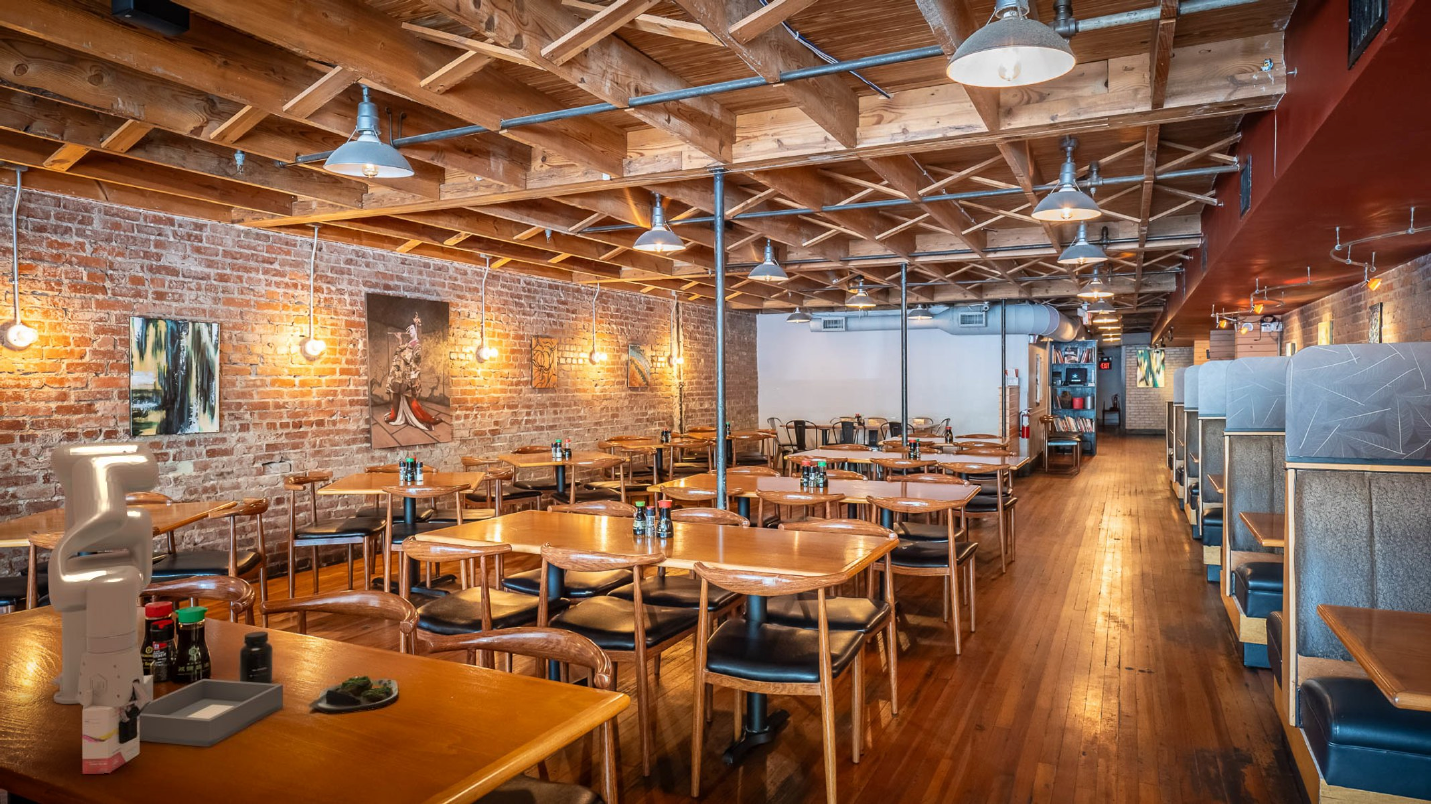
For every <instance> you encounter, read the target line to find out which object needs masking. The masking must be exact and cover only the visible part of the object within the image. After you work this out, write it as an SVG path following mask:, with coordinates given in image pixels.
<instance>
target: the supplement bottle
mask: <svg viewBox="0 0 1431 804" xmlns="http://www.w3.org/2000/svg"><path fill="white" fill-rule="evenodd" d="M268 641H269V634H268V631H254V632H253V631H252V632H248V633H246V634H245V635H244V640H243V644H245V645H243V646H241V648H240V649H239V658H238V660H239V664H238V666H239V667H238V671H239V672H238V681H240V682H254V683H268V684H272V682H273V662H274V661H273V658H274V657H273V656H274V655H273V654H274V653H273V651H274V650H273V645H271V643H268Z"/></svg>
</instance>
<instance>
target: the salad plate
mask: <svg viewBox="0 0 1431 804" xmlns="http://www.w3.org/2000/svg"><path fill="white" fill-rule="evenodd" d="M373 686H383V687H381V688H380V687H377V688H374V689H372V687H373ZM398 686H399V684H398V682H397V681H396V680H395V679H390V678H377V679H374V680H372V679H370V677H369V676H368V675H363V676H359V675H354V676H353V677H349V678H348V679H345V680H344V681H343V682H342V683H339V684H335V685H331V686H329V687H328V686H327V687H325V688H324V689H322V690H321V692H320V693H319V696H318V699H315V700H313V701H312V702H311V703H309V705H308V707H309V708H313V709H316V710H319V711H320V710H321V711H320V712H322V711H323V713H325V712H327V713H326V714H330V713H341V714H343V713H342V712H351V713H355V712H354V711H359V710H367V711H369V710H368V709H372V708H377V709H379V708H378V707H381V706H384V705H386V706H388V705H390V704H392V703H393V702H394V701H395V700H396V699H397V698H398V697H399V687H398ZM391 702H392V703H391ZM389 703H390V704H389ZM387 704H388V705H387ZM384 707H385V706H384ZM381 708H382V707H381ZM372 710H373V709H372ZM359 712H360V711H359Z"/></svg>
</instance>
